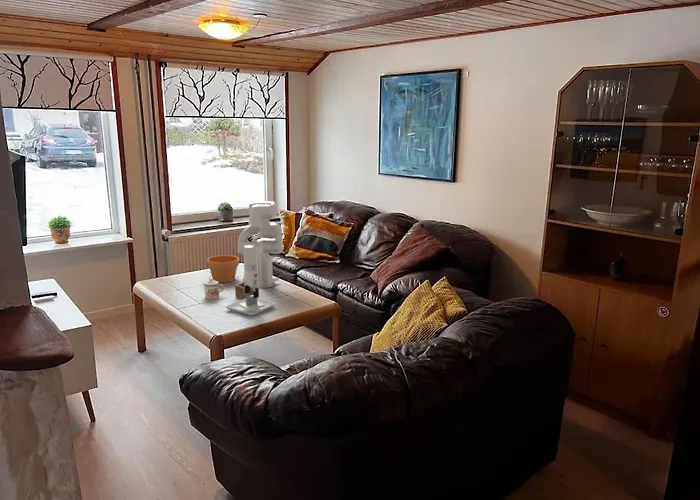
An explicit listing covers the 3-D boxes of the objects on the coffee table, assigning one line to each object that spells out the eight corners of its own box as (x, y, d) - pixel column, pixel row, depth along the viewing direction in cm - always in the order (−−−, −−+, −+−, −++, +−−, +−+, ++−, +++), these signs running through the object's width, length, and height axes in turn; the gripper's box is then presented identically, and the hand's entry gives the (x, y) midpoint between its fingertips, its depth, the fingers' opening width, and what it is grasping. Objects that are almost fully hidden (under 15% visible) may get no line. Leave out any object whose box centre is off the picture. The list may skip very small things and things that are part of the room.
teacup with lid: (206, 300, 330) (205, 281, 327) (203, 295, 338) (202, 277, 335) (225, 297, 335) (225, 279, 333) (222, 293, 343) (221, 275, 341)
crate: (249, 293, 343) (249, 281, 341) (257, 297, 336) (257, 285, 334) (235, 296, 337) (235, 284, 335) (243, 300, 329) (243, 288, 328)
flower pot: (229, 273, 386) (228, 253, 383) (245, 280, 371) (244, 259, 368) (202, 279, 373) (201, 258, 369) (218, 286, 358) (216, 264, 354)
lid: (254, 301, 320) (254, 291, 318) (265, 306, 312) (264, 296, 310) (238, 305, 313) (238, 295, 311) (248, 310, 305) (248, 300, 303)
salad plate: (252, 319, 302) (252, 313, 301) (224, 311, 313) (224, 305, 312) (276, 308, 319) (276, 302, 318) (250, 301, 330) (249, 296, 329)
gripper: (264, 269, 303) (265, 298, 307) (248, 262, 315) (249, 290, 320) (252, 271, 298) (254, 300, 302) (237, 264, 310) (238, 292, 315)
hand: (251, 295), depth 311 cm, fingers open, 9 cm apart
